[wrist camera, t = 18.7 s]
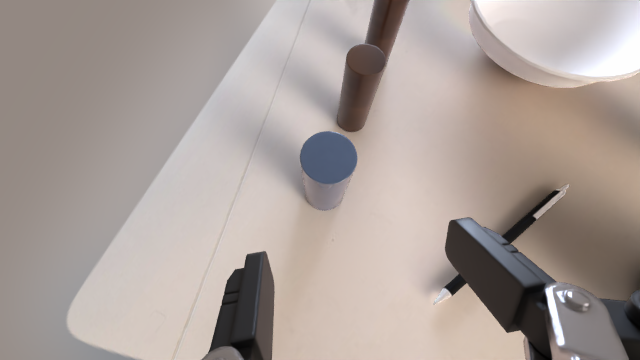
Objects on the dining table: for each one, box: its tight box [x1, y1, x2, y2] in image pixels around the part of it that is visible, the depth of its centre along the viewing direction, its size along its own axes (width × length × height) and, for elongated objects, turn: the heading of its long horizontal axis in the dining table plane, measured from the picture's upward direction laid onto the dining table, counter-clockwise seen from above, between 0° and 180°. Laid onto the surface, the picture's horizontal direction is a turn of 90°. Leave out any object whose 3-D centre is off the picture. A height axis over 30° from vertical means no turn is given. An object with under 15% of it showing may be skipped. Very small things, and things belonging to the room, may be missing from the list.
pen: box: [433, 184, 569, 305], centre depth 24 cm, size 1×19×1 cm, turn 125°
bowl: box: [469, 0, 640, 88], centre depth 29 cm, size 20×20×6 cm
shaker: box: [300, 131, 357, 210], centre depth 22 cm, size 4×4×9 cm
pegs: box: [337, 0, 409, 132], centre depth 26 cm, size 3×12×9 cm, turn 159°
